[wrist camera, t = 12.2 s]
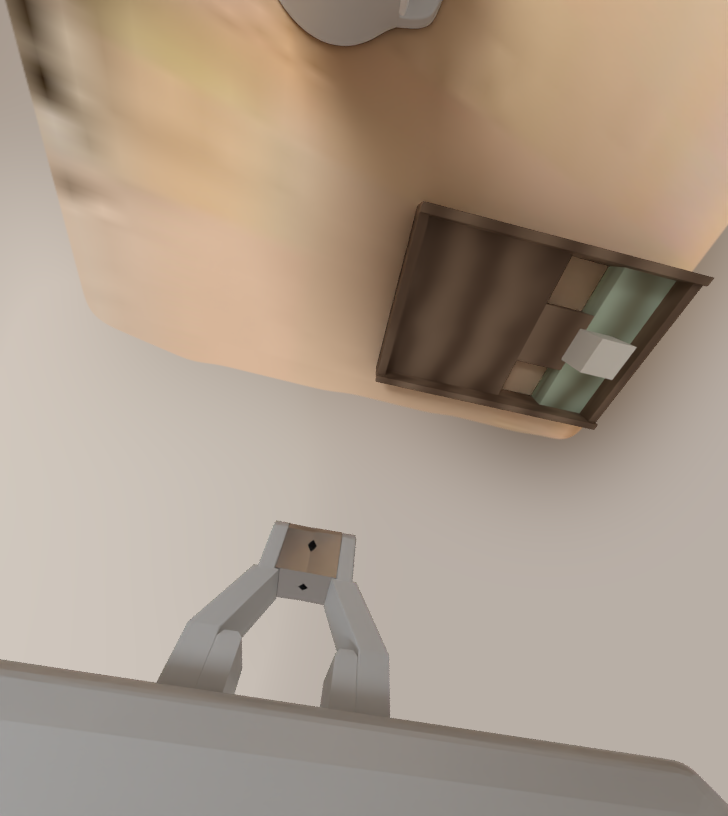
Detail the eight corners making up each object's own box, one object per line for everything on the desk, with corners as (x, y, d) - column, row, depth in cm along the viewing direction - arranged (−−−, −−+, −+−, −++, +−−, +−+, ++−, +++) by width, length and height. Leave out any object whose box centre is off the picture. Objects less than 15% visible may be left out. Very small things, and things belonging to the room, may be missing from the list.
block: (560, 359, 36) (579, 372, 32) (580, 328, 34) (602, 338, 30) (590, 366, 36) (612, 380, 32) (611, 336, 34) (636, 347, 30)
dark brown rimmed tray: (376, 366, 40) (375, 381, 36) (417, 206, 30) (423, 201, 26) (572, 410, 42) (593, 429, 38) (670, 272, 32) (714, 277, 28)
